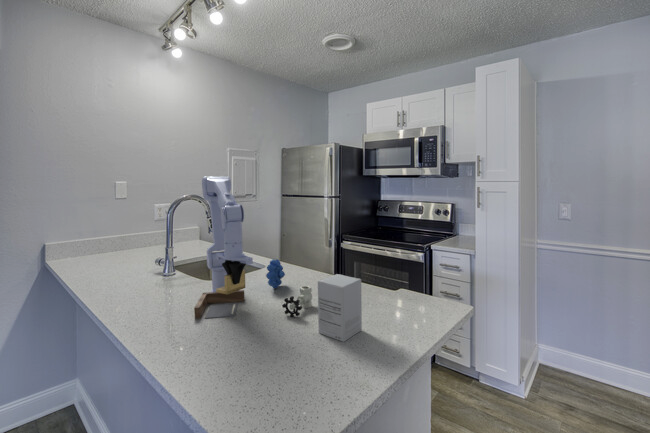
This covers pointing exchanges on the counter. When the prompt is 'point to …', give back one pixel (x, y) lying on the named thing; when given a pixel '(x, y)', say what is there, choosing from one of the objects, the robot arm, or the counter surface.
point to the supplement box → (339, 307)
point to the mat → (221, 310)
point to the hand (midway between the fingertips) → (234, 283)
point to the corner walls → (216, 300)
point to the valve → (299, 301)
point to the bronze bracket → (230, 286)
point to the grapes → (275, 273)
